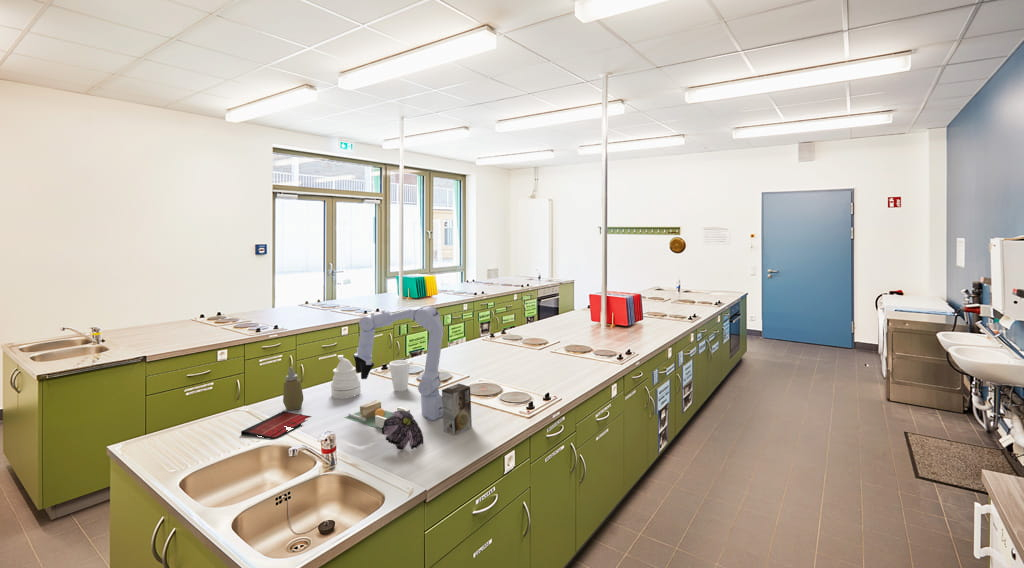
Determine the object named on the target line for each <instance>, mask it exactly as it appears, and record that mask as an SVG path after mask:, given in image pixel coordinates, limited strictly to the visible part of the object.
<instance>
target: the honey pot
mask: <svg viewBox="0 0 1024 568" xmlns="http://www.w3.org/2000/svg"><path fill="white" fill-rule="evenodd" d="M337 359H338V360H339V362H338V364H337V366H336V368H334V369H333V370H332V373H334V374H333V376H332V382H331V384H330V386H331V388H330V389H331V397H332V396H333V397H332V398H334V397H335V399H347V398H346V397H350V398H352V397H351V396H354V395H357V394H359V393H360V392H361V393H362V391H361V390H362V389H361V380H360V379H359V376H358V373H357V372H356V366H353V363H352V362H351V361H350V360H349V359H347V358H344V354H340V355H339V354H338V355H337ZM361 393H360V394H361ZM360 394H359V395H360ZM357 396H358V395H357ZM354 397H355V396H354Z"/></svg>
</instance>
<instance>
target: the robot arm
mask: <svg viewBox="0 0 1024 568" xmlns="http://www.w3.org/2000/svg"><path fill="white" fill-rule="evenodd" d="M406 319H410V320H411V321H413V322H414V321H415V322H416V323H417V325H420V327H422V328H425V330H426V331H427V332H429V335H428V336H429V337H428V343H427V352H426V358H425V367H424V372H423V374H422V376H421V381H420V382H419V384H418V386H417V390H418V392H419V394H420V402H421V403H420V404H421V415H422V416H423V417H425V419H427V420H430V421H436V420H439V419H441V418H443V403H442V394H440V390H439V387H441V377H440V374H441V373H440V371H439V366H440V365H439V364H440V359H441V351H442V345H443V344H442V343H443V337H444V326H443V322H442V320H441V318H440V311H438V309H437V308H436V307H434V306H433V305H427V306H417V307H412V308H407V309H404V310H401V311H397V312H393V313H392V312H391V311H388V310H385V309H384V310H381V312H378V313H370V314H369V315H366V316H363V317H361V318H360V319H359V322H358V326H359V328H360V332H359V339H358V344H357V346H358V347H357V348H356V353H353V355H352V356H353V358H354V363H355V368H356V370H355V371H356V373H360V378H361V380H367V379H368V377H369V374H370V372H371V370H372V369H373V367H374V366H375V363H374V362H373V360H372V358H373V354H372V353H373V347H374V341H375V334H376V329H379V328H382V327H388V326H391V325H393V324H394V322H395V321H401V320H406Z"/></svg>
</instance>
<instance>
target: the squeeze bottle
mask: <svg viewBox="0 0 1024 568" xmlns="http://www.w3.org/2000/svg"><path fill="white" fill-rule="evenodd" d="M298 377H299V376H298V373H297V374H296V373H295V371H294V367H293V366H290V367H289V368H288V374H287V375H286V376H285V381H283V393H282V394H283V396H282V397H283V398H282V403H283V405H284V408H285V409H286V411H297V410H299V409H301V408H302V406H303V403H304V398H305V397H304V393H303V387H302V382H301V379H299V378H298Z"/></svg>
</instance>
